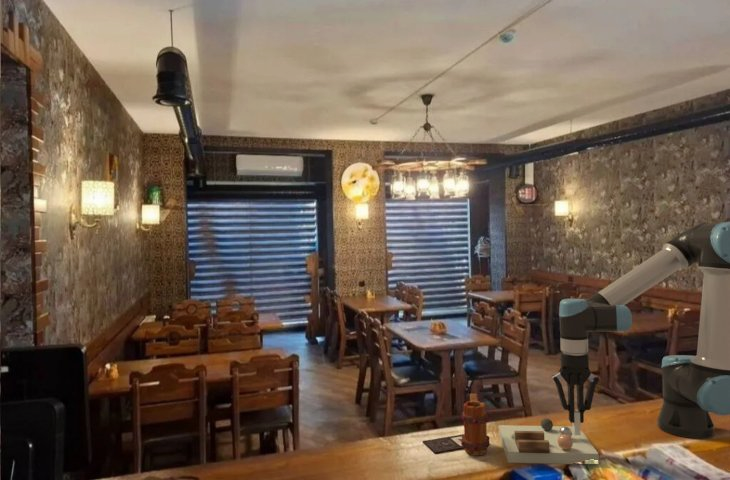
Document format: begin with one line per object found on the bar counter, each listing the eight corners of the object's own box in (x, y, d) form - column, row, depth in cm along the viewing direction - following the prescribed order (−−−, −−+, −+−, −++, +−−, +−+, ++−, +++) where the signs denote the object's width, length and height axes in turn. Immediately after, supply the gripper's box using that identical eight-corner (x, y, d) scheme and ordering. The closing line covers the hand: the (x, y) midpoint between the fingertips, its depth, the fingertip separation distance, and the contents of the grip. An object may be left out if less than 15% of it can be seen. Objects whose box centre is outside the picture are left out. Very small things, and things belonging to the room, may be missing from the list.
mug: (491, 459, 143) (489, 406, 143) (461, 458, 145) (459, 405, 145) (489, 439, 158) (487, 391, 158) (462, 438, 159) (460, 390, 159)
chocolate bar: (422, 440, 157) (474, 432, 163) (422, 444, 157) (474, 435, 163) (435, 452, 149) (489, 442, 154) (435, 455, 149) (489, 446, 154)
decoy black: (551, 428, 157) (551, 416, 157) (554, 432, 154) (553, 420, 154) (539, 427, 158) (539, 416, 158) (542, 432, 154) (541, 420, 154)
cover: (543, 441, 147) (543, 431, 147) (549, 453, 139) (549, 442, 139) (514, 441, 148) (514, 430, 148) (519, 452, 140) (518, 441, 140)
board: (578, 436, 158) (578, 426, 158) (599, 464, 138) (598, 453, 138) (498, 434, 161) (498, 425, 161) (507, 462, 141) (507, 451, 141)
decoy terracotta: (571, 446, 143) (570, 432, 143) (574, 452, 139) (574, 437, 139) (556, 446, 144) (555, 432, 144) (559, 452, 140) (559, 437, 140)
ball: (570, 436, 150) (570, 424, 150) (573, 441, 147) (573, 429, 147) (558, 436, 151) (558, 424, 151) (561, 441, 147) (560, 428, 147)
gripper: (593, 349, 151) (596, 429, 151) (548, 349, 153) (550, 428, 153) (602, 355, 144) (604, 439, 144) (554, 355, 145) (556, 437, 146)
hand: (576, 433), depth 148 cm, fingers closed
